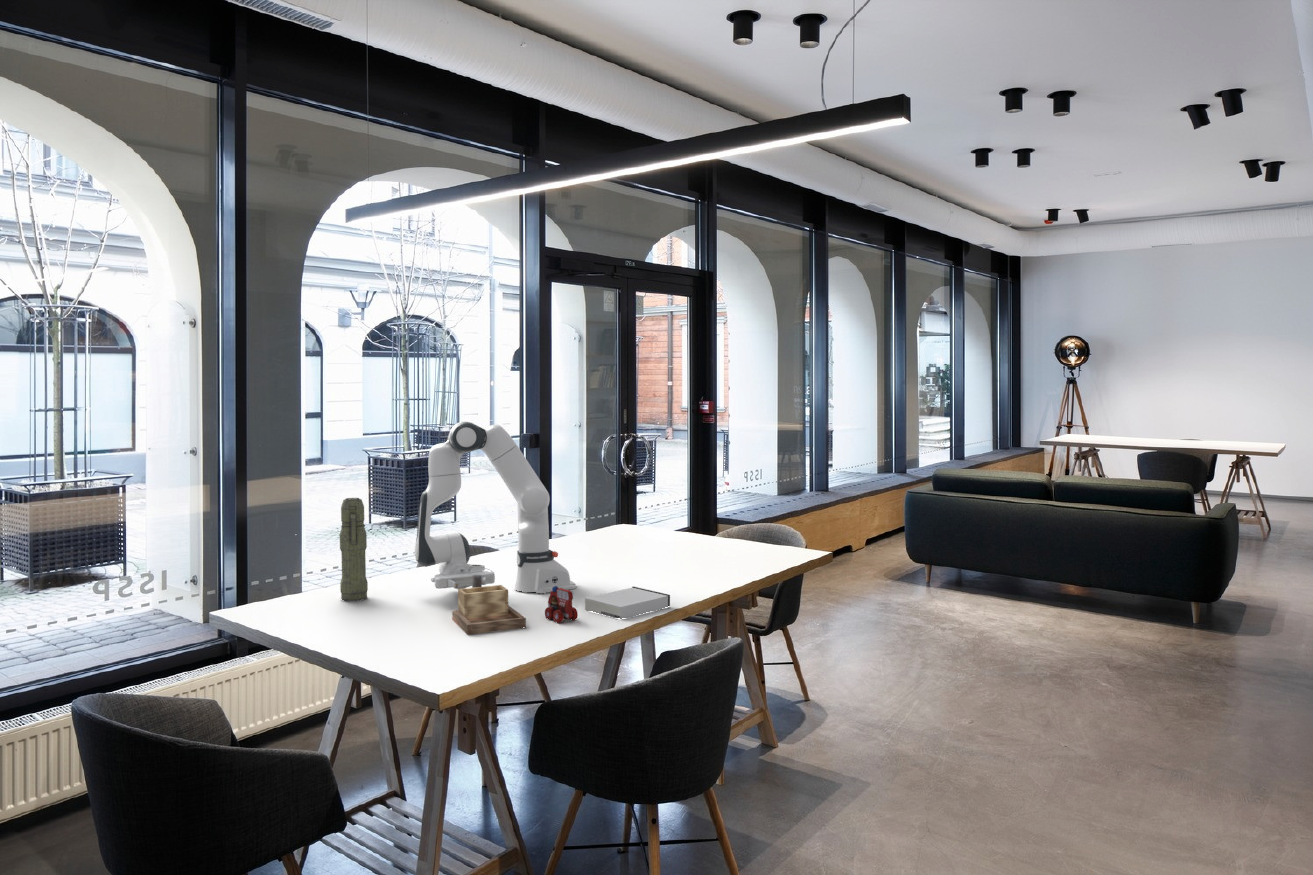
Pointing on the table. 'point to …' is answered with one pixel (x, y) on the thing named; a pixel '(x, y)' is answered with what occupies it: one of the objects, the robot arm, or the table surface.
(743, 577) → the table surface
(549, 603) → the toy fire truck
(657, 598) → the disc drive
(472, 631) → the tray
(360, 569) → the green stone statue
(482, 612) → the crate
